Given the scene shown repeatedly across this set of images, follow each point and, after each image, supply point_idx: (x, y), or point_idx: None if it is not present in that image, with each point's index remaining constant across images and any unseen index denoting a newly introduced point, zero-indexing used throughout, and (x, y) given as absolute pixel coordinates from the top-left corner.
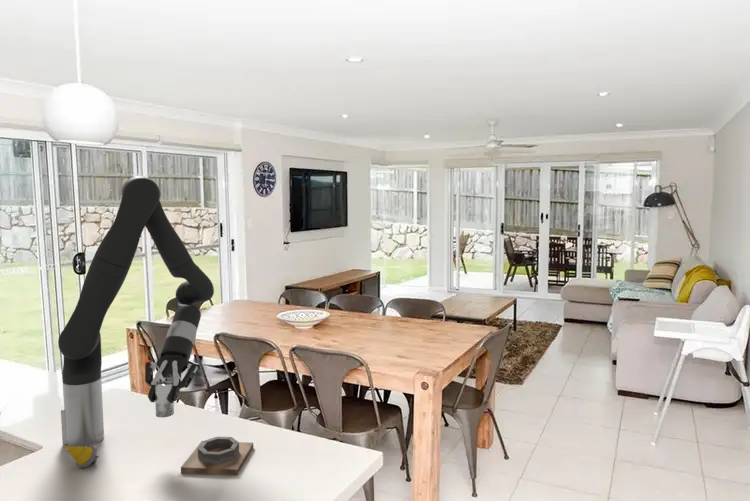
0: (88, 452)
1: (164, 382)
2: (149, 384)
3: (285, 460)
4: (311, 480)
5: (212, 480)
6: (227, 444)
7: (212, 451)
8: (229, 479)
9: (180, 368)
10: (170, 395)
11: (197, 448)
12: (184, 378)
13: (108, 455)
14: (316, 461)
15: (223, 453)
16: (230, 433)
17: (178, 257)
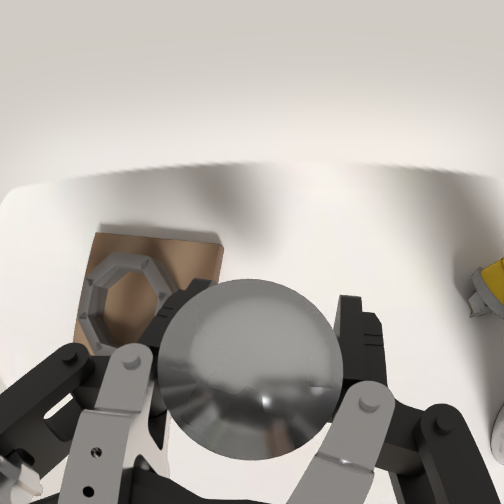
0: (492, 275)
1: (251, 412)
2: (409, 410)
3: (33, 293)
4: (17, 222)
5: (148, 217)
6: (112, 344)
7: None
8: (117, 221)
9: (54, 499)
10: (194, 294)
11: None
12: (52, 379)
13: (455, 352)
14: (3, 283)
15: (106, 258)
16: None
17: None
